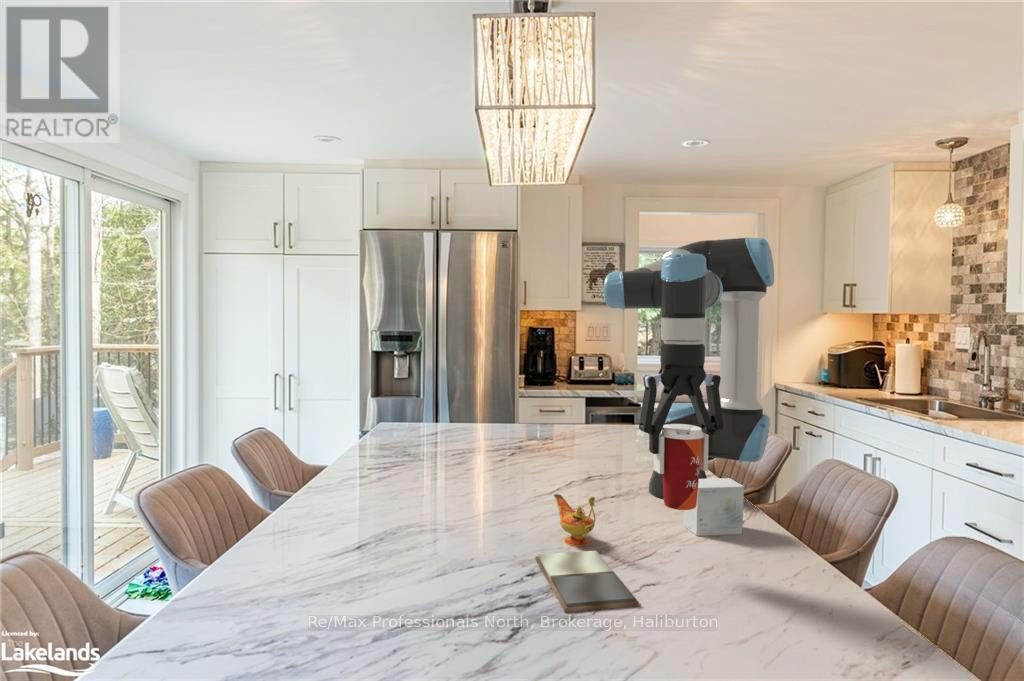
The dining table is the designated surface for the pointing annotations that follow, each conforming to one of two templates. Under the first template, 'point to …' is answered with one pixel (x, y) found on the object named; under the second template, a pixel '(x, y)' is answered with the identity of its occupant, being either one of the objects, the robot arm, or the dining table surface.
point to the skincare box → (716, 508)
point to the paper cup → (681, 465)
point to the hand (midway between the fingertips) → (680, 470)
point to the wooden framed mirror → (584, 581)
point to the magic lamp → (575, 522)
